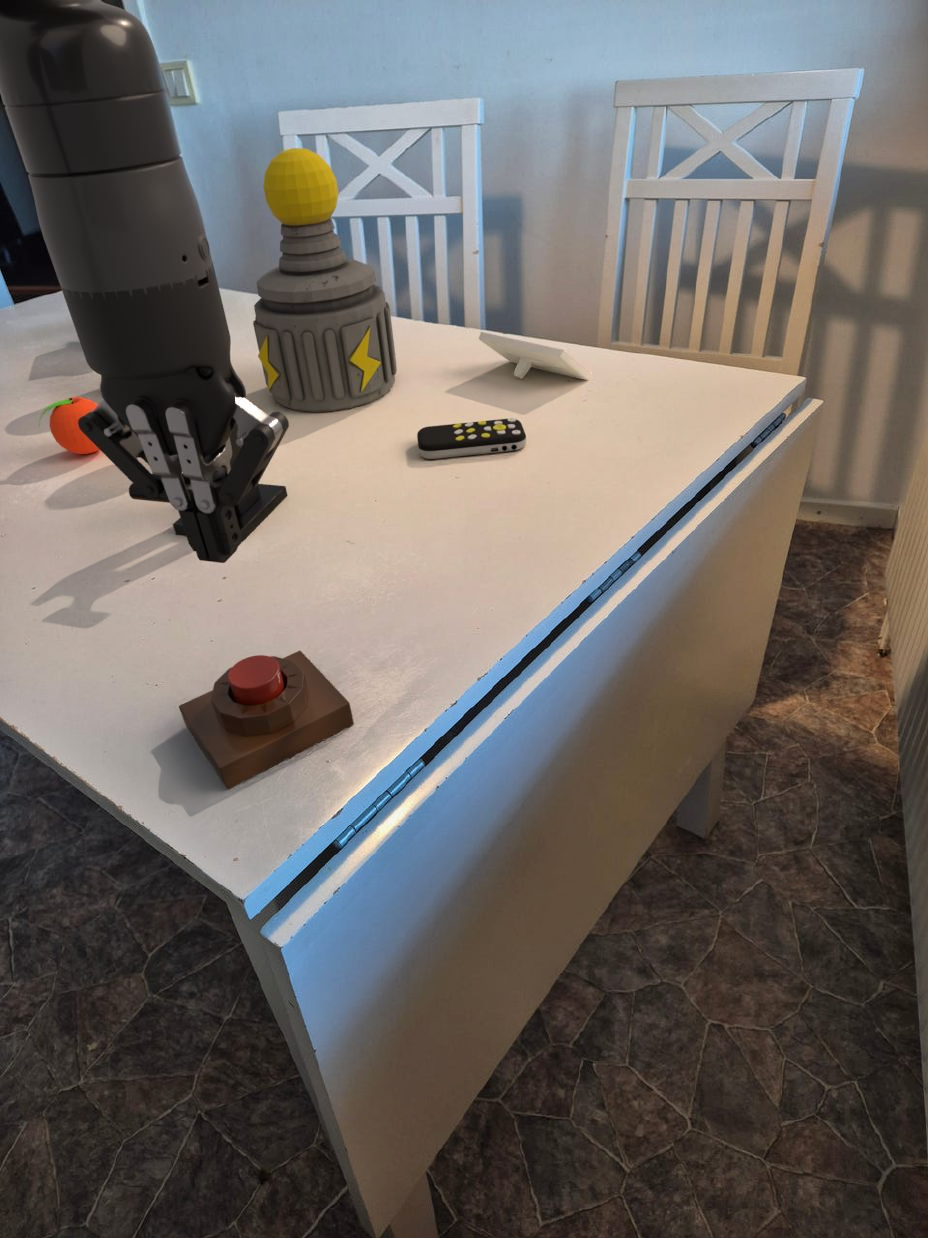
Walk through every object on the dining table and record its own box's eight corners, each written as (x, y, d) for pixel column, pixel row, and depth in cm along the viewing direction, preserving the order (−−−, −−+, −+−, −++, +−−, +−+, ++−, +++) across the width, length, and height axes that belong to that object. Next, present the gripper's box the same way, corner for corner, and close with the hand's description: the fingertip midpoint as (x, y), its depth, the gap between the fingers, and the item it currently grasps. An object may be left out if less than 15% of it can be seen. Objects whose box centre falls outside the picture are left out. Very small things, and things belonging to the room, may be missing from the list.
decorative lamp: (244, 392, 117) (187, 155, 99) (351, 357, 126) (317, 134, 108) (314, 427, 105) (264, 164, 87) (427, 385, 114) (403, 140, 96)
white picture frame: (470, 358, 113) (552, 378, 105) (482, 325, 113) (565, 343, 105) (502, 379, 120) (582, 400, 112) (514, 349, 120) (595, 367, 111)
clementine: (53, 470, 99) (31, 415, 95) (51, 450, 105) (29, 397, 100) (120, 454, 102) (102, 400, 98) (115, 435, 107) (97, 383, 103)
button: (245, 714, 56) (240, 695, 55) (225, 687, 58) (219, 669, 57) (292, 691, 58) (287, 672, 57) (271, 666, 60) (266, 648, 59)
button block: (227, 790, 55) (212, 749, 53) (186, 727, 61) (171, 687, 58) (354, 724, 60) (346, 683, 57) (305, 670, 65) (295, 631, 63)
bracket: (242, 541, 82) (208, 412, 74) (175, 534, 85) (134, 408, 76) (287, 495, 90) (260, 373, 82) (224, 489, 92) (192, 370, 84)
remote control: (417, 440, 99) (415, 424, 98) (520, 429, 100) (519, 414, 99) (420, 462, 94) (418, 446, 93) (528, 450, 95) (527, 435, 94)
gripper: (-24, 284, 40) (95, 576, 50) (210, 287, 36) (286, 601, 47) (76, 247, 46) (164, 517, 56) (286, 247, 42) (339, 535, 52)
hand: (220, 555), depth 51 cm, fingers closed
